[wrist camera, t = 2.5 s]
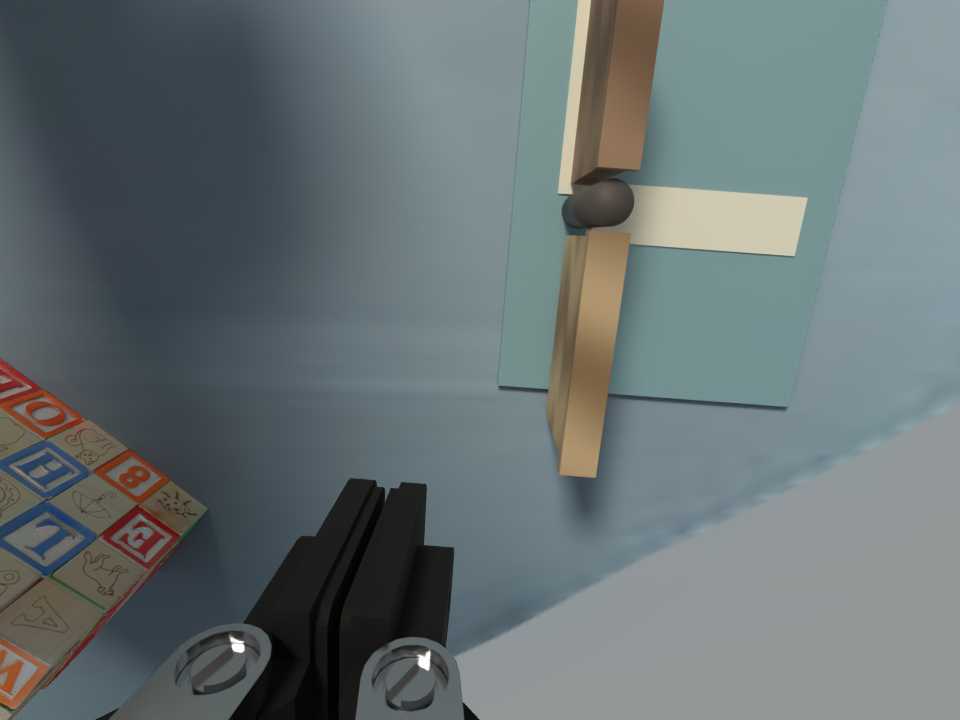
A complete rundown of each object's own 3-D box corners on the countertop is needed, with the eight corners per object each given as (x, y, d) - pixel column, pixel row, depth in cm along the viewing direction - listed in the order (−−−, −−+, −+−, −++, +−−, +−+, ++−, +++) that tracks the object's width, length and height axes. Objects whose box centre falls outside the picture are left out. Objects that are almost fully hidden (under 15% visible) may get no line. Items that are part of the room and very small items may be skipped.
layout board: (532, -31, 24) (533, -37, 23) (883, -5, 24) (891, -10, 23) (497, 383, 29) (497, 385, 29) (784, 404, 29) (789, 407, 29)
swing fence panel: (562, 231, 26) (589, 230, 19) (592, 233, 26) (630, 233, 19) (542, 415, 29) (559, 475, 22) (569, 417, 29) (595, 477, 22)
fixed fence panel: (587, -32, 23) (634, -156, 16) (625, -29, 23) (689, -152, 16) (559, 227, 26) (587, 224, 19) (593, 229, 26) (634, 227, 19)
